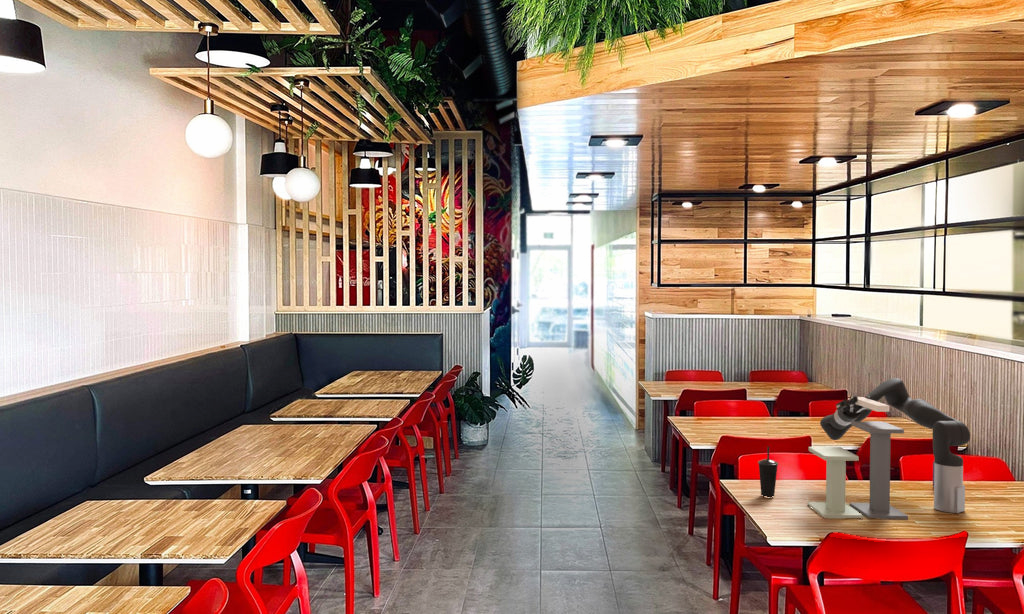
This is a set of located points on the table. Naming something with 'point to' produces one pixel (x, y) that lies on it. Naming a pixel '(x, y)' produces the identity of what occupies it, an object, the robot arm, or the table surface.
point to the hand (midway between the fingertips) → (863, 398)
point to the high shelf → (879, 471)
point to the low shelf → (835, 483)
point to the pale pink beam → (872, 404)
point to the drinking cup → (767, 475)
